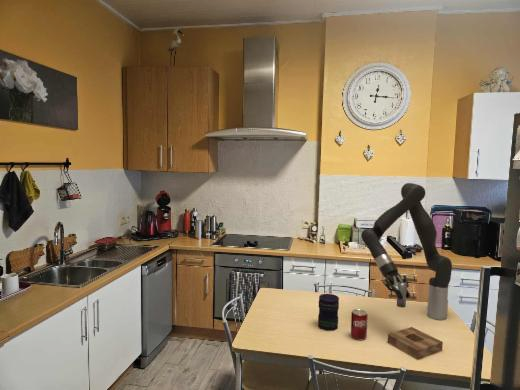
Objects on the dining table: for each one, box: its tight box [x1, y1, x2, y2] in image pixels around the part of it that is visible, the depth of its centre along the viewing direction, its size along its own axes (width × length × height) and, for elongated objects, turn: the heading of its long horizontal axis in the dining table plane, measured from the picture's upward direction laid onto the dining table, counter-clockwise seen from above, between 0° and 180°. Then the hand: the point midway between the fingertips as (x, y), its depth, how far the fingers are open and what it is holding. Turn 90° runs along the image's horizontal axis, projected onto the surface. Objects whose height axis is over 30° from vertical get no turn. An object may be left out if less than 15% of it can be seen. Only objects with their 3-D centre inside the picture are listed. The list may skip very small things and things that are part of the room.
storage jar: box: [317, 293, 340, 332], centre depth 178 cm, size 10×10×15 cm
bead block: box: [386, 326, 444, 361], centre depth 160 cm, size 16×16×4 cm
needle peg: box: [396, 281, 408, 308], centre depth 167 cm, size 4×4×11 cm
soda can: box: [350, 308, 369, 341], centre depth 168 cm, size 7×7×12 cm
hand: (405, 297), depth 165 cm, fingers closed on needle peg, 4 cm apart
